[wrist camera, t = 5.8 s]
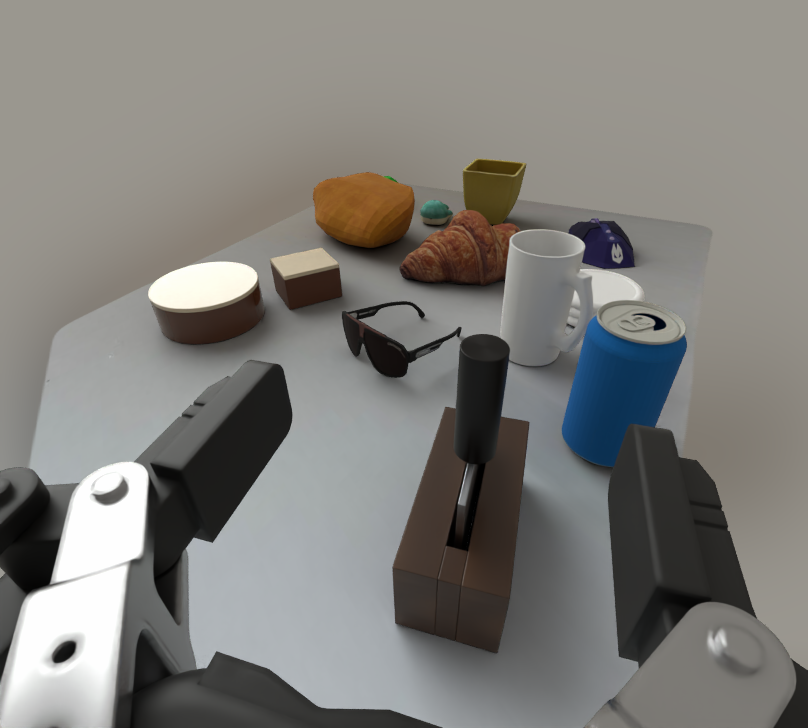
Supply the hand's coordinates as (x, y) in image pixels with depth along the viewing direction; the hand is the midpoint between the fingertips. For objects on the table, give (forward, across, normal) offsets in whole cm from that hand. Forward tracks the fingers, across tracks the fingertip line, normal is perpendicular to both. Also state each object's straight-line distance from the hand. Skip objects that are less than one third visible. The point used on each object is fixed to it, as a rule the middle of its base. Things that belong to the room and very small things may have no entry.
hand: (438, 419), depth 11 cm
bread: (+62, +26, +21) cm, 70 cm away
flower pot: (+75, +7, +21) cm, 78 cm away
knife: (+11, 0, +21) cm, 24 cm away
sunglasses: (+33, +11, +21) cm, 41 cm away
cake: (+33, +35, +21) cm, 53 cm away
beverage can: (+23, -9, +21) cm, 33 cm away
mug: (+35, -3, +21) cm, 41 cm away
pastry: (+54, +7, +21) cm, 59 cm away
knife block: (+11, 0, +21) cm, 24 cm away
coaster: (+46, -9, +21) cm, 51 cm away
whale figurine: (+73, +16, +21) cm, 78 cm away
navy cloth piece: (+66, -10, +21) cm, 70 cm away
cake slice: (+42, +26, +21) cm, 54 cm away
